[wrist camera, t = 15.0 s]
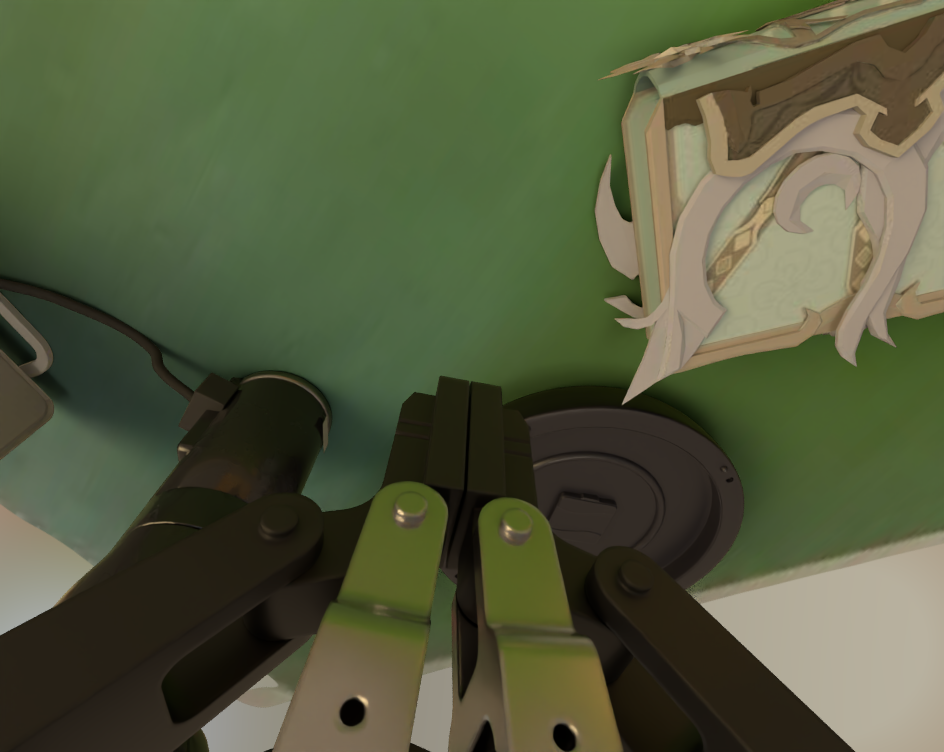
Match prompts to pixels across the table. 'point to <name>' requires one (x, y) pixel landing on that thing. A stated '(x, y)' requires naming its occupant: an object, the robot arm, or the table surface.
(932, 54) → the ornate book
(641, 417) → the round tray
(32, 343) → the network device
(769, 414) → the table surface
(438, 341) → the table surface
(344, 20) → the table surface
